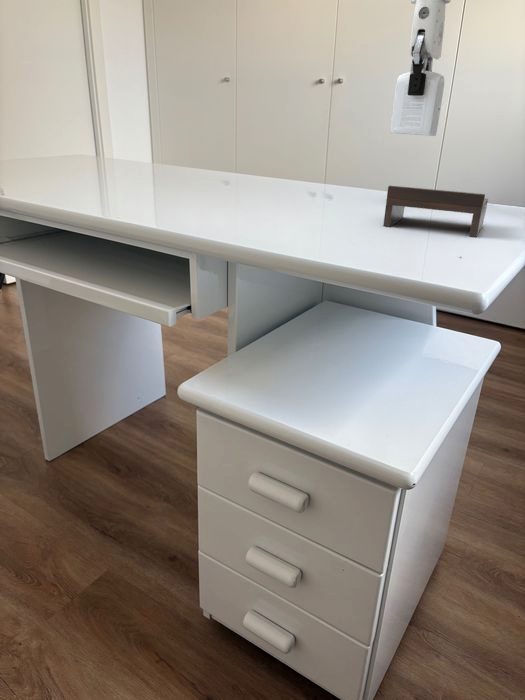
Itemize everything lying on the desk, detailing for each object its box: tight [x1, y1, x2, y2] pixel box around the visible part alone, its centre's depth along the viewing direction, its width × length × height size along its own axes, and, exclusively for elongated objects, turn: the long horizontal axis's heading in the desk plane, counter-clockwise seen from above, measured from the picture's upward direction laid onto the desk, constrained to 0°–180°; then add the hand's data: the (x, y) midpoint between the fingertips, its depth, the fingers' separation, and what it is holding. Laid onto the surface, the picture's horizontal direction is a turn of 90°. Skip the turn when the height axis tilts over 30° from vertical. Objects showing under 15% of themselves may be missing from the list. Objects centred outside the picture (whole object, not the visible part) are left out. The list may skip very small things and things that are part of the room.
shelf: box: [382, 185, 489, 238], centre depth 97 cm, size 11×16×7 cm
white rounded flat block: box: [389, 71, 445, 137], centre depth 113 cm, size 10×4×12 cm, turn 52°
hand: (418, 94), depth 113 cm, fingers closed on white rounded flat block, 5 cm apart
